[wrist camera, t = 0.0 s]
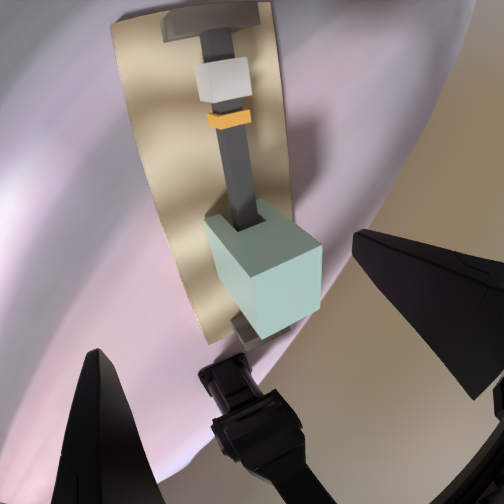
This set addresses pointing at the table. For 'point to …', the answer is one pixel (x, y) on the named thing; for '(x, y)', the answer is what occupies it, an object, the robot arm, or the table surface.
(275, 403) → the robot arm
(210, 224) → the pale teal block
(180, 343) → the table surface
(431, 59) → the table surface
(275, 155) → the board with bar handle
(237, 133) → the long grey square rod
